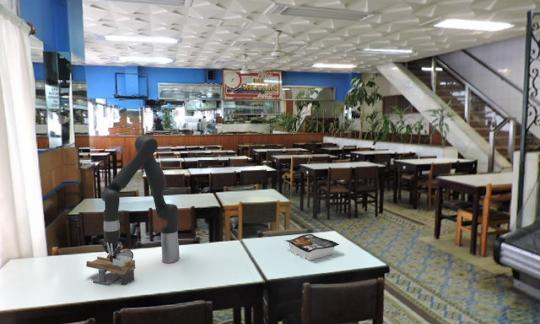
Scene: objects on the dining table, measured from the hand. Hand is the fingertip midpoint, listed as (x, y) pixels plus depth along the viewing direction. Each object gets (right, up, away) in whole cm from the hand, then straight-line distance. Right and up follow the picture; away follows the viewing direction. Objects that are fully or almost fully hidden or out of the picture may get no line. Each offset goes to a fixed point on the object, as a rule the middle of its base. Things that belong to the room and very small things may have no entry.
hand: (113, 261), depth 194 cm
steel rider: (+5, -2, -2) cm, 6 cm away
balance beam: (-2, -3, +2) cm, 4 cm away
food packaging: (+104, -5, +36) cm, 110 cm away
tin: (-4, -7, +21) cm, 23 cm away
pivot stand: (+1, -9, +1) cm, 10 cm away
